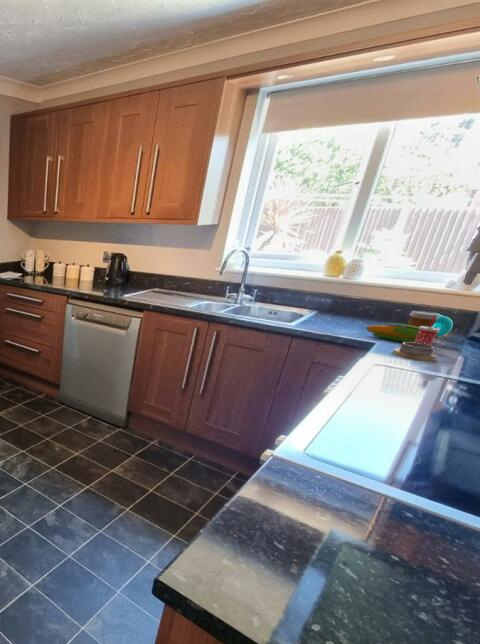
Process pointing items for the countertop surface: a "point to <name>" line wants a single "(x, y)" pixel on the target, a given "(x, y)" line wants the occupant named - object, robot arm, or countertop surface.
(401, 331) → the corn
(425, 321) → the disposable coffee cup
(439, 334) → the turquoise rounded piece
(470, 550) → the countertop surface
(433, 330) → the beverage cup
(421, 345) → the stand
